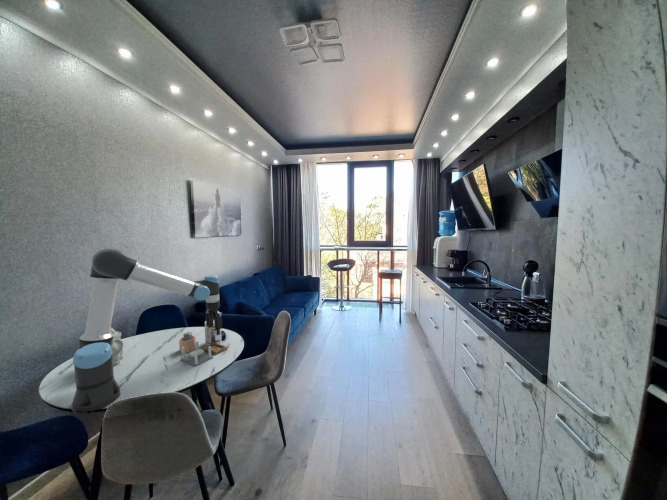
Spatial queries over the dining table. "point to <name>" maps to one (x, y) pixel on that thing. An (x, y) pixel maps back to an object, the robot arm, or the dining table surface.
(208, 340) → the supplement tub
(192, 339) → the orange canister
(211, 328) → the cell
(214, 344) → the brown wooden tray
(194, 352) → the checker pad
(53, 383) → the dining table surface
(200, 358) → the checker cradle
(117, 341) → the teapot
